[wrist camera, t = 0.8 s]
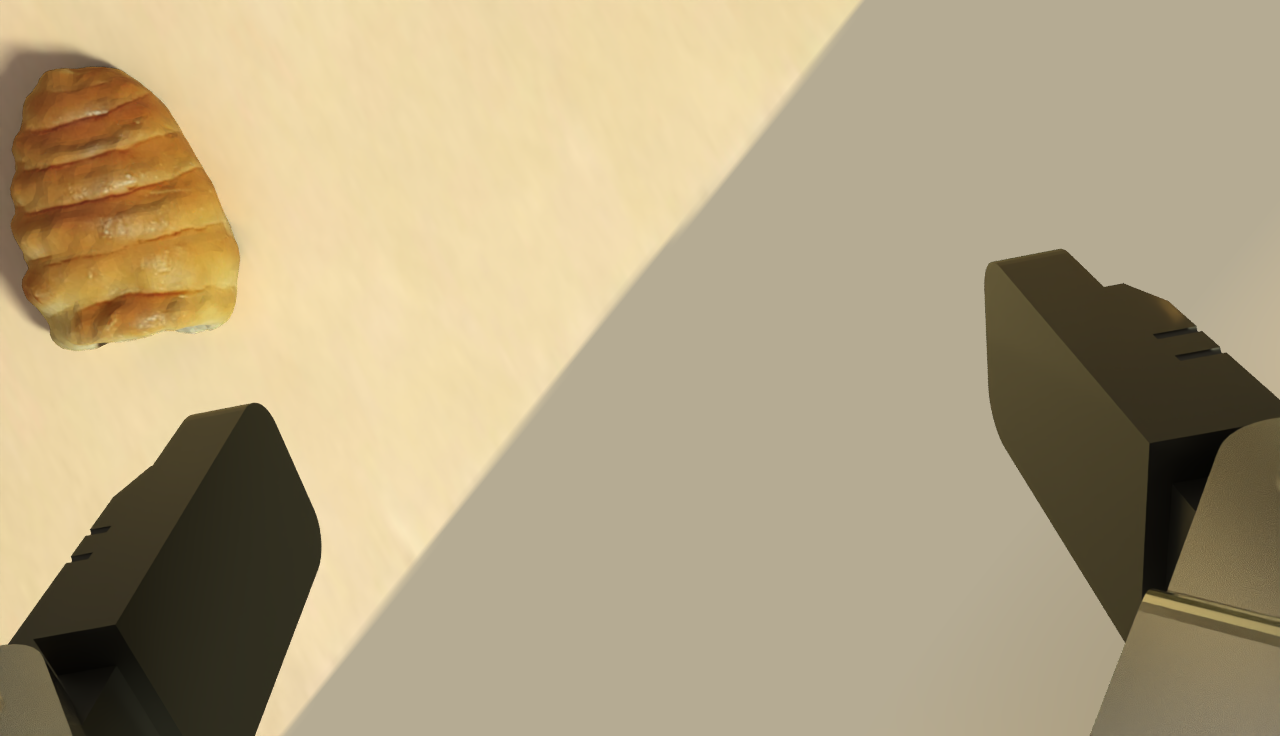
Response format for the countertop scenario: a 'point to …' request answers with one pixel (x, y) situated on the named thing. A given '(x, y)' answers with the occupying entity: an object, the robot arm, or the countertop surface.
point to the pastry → (116, 214)
